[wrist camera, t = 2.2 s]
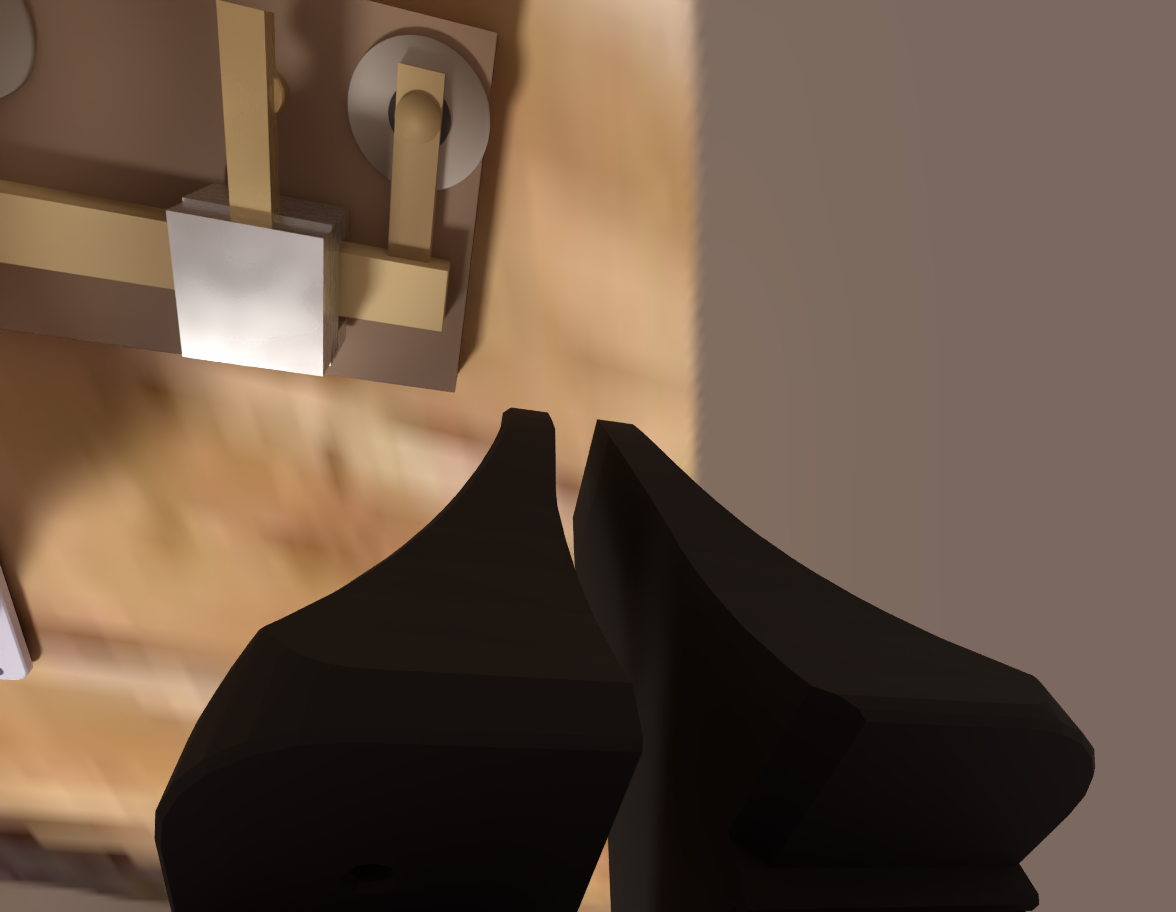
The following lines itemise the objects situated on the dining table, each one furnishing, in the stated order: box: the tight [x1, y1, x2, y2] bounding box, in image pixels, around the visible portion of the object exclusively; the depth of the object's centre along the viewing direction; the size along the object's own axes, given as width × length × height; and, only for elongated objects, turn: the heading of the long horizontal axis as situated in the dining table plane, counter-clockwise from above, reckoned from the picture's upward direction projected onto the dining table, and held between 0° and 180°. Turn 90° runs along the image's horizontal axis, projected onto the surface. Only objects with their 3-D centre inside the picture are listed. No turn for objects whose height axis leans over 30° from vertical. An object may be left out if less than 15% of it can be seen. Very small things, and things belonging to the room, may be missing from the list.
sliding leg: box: [166, 0, 349, 376], centre depth 14 cm, size 3×7×3 cm, turn 168°
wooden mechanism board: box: [0, 0, 498, 393], centre depth 15 cm, size 14×9×2 cm, turn 78°
